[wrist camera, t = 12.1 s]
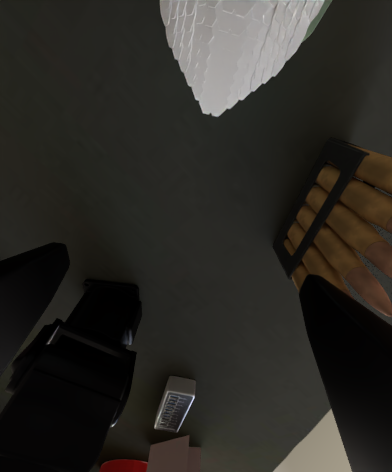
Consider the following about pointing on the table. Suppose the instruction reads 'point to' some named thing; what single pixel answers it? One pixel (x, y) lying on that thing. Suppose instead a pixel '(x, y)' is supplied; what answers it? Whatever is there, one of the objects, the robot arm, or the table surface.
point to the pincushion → (233, 43)
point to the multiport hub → (175, 403)
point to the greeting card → (174, 456)
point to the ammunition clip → (341, 222)
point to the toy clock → (124, 466)
